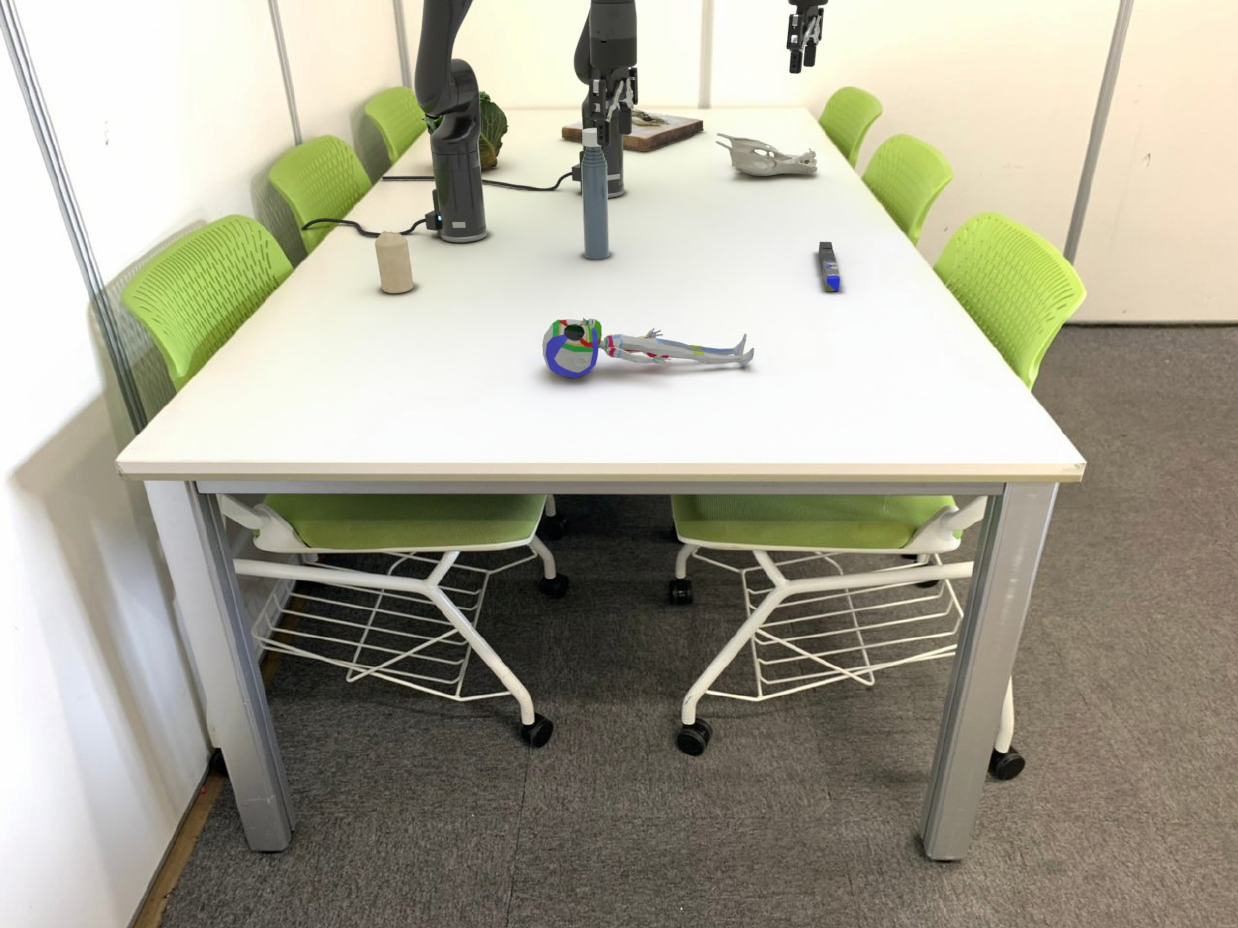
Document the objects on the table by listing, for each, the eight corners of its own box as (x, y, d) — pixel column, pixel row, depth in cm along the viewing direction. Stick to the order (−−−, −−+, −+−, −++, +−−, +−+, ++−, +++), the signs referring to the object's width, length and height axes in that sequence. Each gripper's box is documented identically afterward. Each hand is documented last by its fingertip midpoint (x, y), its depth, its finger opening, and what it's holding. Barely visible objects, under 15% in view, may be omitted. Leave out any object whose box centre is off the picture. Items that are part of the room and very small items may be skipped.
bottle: (580, 257, 172) (575, 134, 160) (591, 250, 176) (587, 129, 164) (602, 261, 170) (599, 136, 158) (613, 253, 174) (610, 131, 162)
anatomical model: (717, 129, 225) (818, 128, 221) (717, 166, 230) (815, 166, 226) (714, 143, 213) (820, 142, 209) (713, 182, 217) (817, 182, 214)
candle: (419, 284, 161) (411, 229, 156) (403, 295, 157) (395, 239, 151) (392, 280, 162) (384, 226, 157) (376, 291, 158) (367, 236, 153)
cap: (578, 146, 161) (578, 131, 160) (588, 141, 164) (588, 127, 163) (598, 147, 160) (598, 133, 158) (608, 143, 163) (607, 129, 161)
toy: (760, 346, 125) (547, 329, 121) (748, 400, 130) (541, 385, 125) (744, 318, 134) (544, 300, 129) (733, 369, 138) (539, 354, 134)
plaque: (647, 125, 237) (559, 112, 252) (647, 153, 241) (560, 139, 256) (706, 107, 258) (622, 97, 273) (705, 133, 262) (622, 121, 277)
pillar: (831, 242, 170) (840, 279, 154) (830, 253, 172) (838, 291, 155) (819, 241, 171) (827, 279, 154) (818, 252, 172) (825, 291, 155)
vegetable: (456, 190, 238) (411, 121, 230) (516, 151, 239) (474, 80, 231) (465, 191, 219) (416, 116, 212) (530, 148, 221) (484, 71, 213)
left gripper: (610, 27, 149) (612, 129, 157) (571, 38, 138) (575, 147, 146) (652, 29, 146) (651, 133, 155) (616, 40, 135) (617, 151, 144)
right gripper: (802, -27, 174) (795, 63, 182) (778, -22, 163) (771, 74, 172) (840, -26, 171) (831, 66, 179) (818, -21, 160) (809, 77, 169)
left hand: (614, 139), depth 150 cm, fingers open, 8 cm apart
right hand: (802, 70), depth 176 cm, fingers open, 8 cm apart
